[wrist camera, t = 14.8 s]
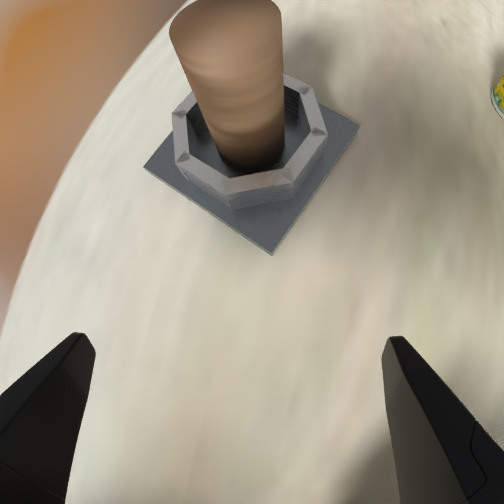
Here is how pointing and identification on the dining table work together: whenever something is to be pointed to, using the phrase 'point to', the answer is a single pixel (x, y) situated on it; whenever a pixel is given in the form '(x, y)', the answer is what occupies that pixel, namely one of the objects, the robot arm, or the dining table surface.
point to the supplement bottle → (499, 97)
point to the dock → (259, 183)
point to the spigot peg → (236, 76)
